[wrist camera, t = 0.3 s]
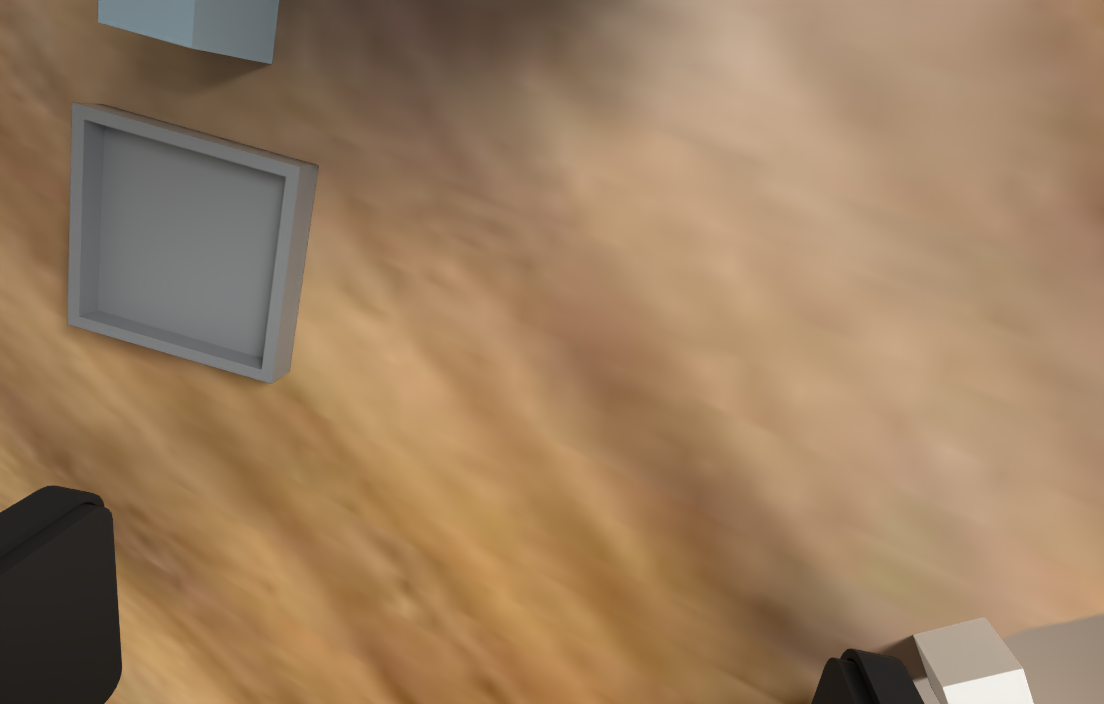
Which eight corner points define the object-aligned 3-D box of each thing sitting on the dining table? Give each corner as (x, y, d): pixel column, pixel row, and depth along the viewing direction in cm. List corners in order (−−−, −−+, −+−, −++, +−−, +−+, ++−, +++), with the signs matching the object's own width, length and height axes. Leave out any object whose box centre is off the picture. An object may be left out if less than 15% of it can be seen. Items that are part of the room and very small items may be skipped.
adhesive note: (984, 615, 48) (1023, 668, 43) (1001, 669, 49) (1041, 726, 44) (911, 633, 49) (942, 687, 44) (930, 686, 50) (962, 743, 45)
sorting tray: (102, 104, 43) (72, 102, 41) (318, 165, 43) (300, 167, 41) (95, 314, 48) (67, 324, 46) (289, 371, 48) (271, 383, 45)
